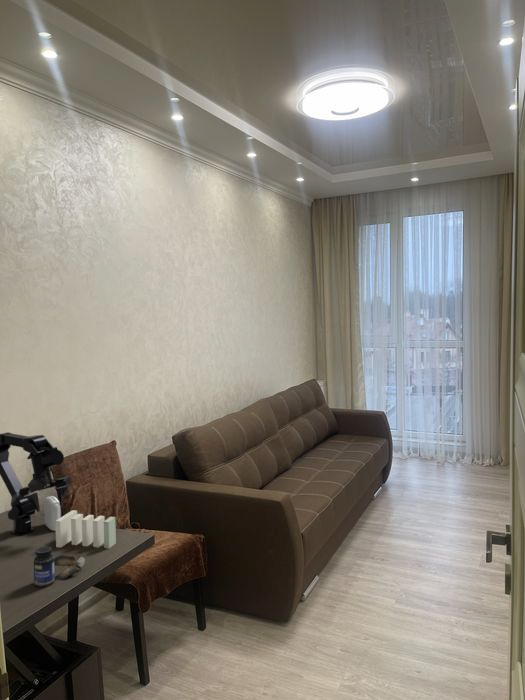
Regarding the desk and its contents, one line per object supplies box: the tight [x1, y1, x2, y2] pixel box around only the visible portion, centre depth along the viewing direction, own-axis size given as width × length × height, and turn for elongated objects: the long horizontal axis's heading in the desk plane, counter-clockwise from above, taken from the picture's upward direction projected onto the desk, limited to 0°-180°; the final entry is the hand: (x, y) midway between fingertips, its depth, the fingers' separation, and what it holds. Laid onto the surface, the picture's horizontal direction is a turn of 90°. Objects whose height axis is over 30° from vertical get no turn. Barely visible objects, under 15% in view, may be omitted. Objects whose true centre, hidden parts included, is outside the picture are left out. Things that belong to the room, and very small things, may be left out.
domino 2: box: [71, 513, 84, 546], centre depth 201 cm, size 2×5×10 cm, turn 167°
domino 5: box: [103, 516, 117, 549], centre depth 198 cm, size 2×5×10 cm, turn 167°
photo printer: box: [43, 495, 62, 532], centre depth 215 cm, size 10×4×12 cm, turn 39°
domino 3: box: [81, 514, 95, 547], centre depth 200 cm, size 2×5×10 cm, turn 167°
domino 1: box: [55, 509, 78, 548], centre depth 202 cm, size 2×11×10 cm, turn 167°
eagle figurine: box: [54, 552, 86, 581], centre depth 176 cm, size 8×7×9 cm
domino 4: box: [92, 515, 106, 548], centre depth 199 cm, size 2×5×10 cm, turn 167°
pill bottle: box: [33, 546, 56, 588], centre depth 170 cm, size 6×6×11 cm
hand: (50, 508), depth 202 cm, fingers open, 9 cm apart
